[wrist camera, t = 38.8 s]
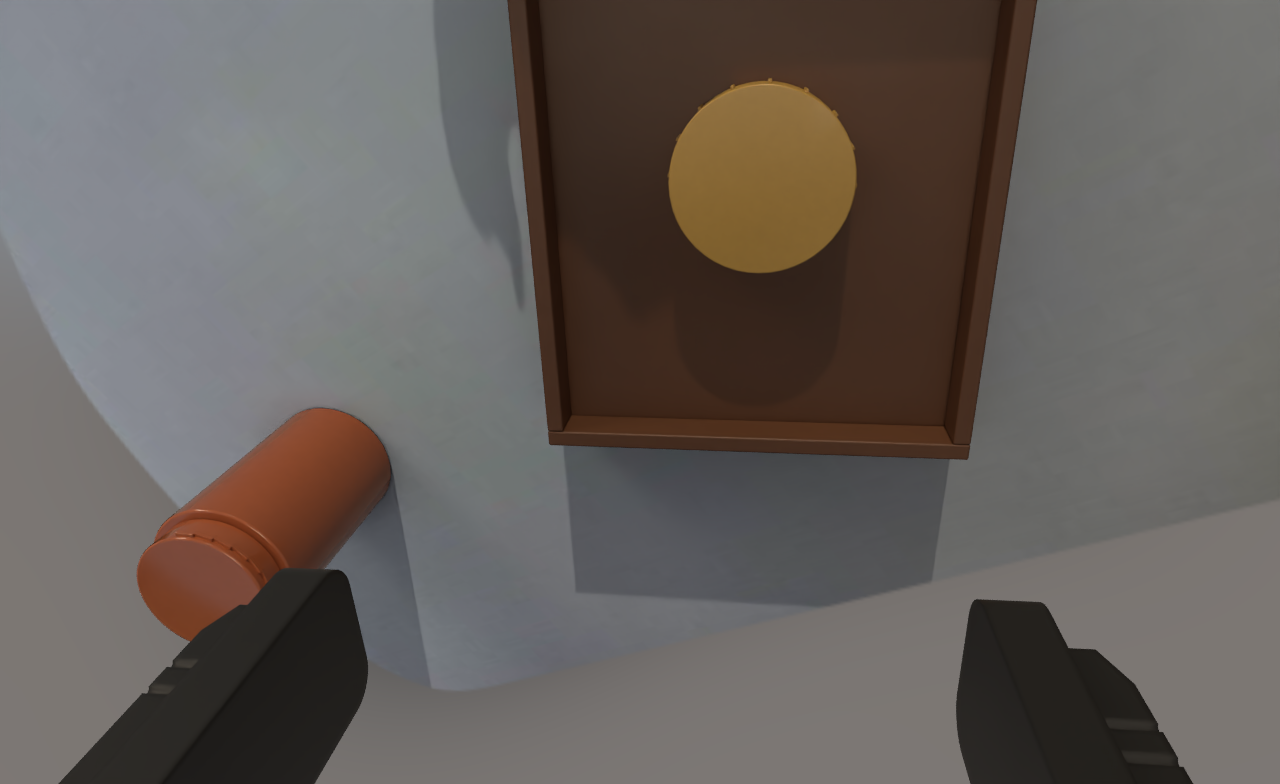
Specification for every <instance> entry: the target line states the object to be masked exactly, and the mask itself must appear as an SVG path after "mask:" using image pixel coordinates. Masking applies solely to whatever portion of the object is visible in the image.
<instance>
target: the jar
mask: <svg viewBox="0 0 1280 784" xmlns="http://www.w3.org/2000/svg"><path fill="white" fill-rule="evenodd" d="M390 478H391V469H390V462H389V458H388V455H387V453H386V450H385V448H384V447H383V445H382V443H381V442H380V440H379V439H378V437H377V436H376V435H375V434H374V433H373V432H372V431H371V430H370V429H369V428H368V427H367V426H366V425H365V424H363V423H362V422H361V421H359V420H358V419H356V418H354V417H353V416H350V415H348V414H346V413H343V412H340V411H337V410H333V409H325V408H315V409H309V410H305V411H302V412H299V413H297V414H295V415H294V416H292V417H291V418H290V419H288V420H287V421H286V422H285V423H284V424H282V425H281V426H280V427H279V428H278V429H276V430H275V431H274V432H273V433H272V434H270V435H269V436H268V437H267V438H265V439H264V440H263V441H262V442H261V443H259V444H258V445H257V446H256V447H255V448H253V449H252V450H251V451H250V452H248V453H247V454H246V455H245V456H244V457H242V458H241V459H240V460H239V461H238V462H236V463H235V464H234V465H233V466H232V467H230V468H229V469H228V470H227V471H225V472H224V473H223V474H222V475H221V476H219V477H218V478H217V479H216V480H215V481H213V482H212V483H211V484H210V485H208V486H207V487H206V488H205V489H204V490H202V491H201V492H200V493H199V494H198V495H196V496H195V497H194V498H193V499H192V500H190V501H189V502H188V503H187V504H185V505H184V506H183V507H182V508H181V509H179V510H178V511H177V512H176V513H175V514H173V515H172V516H171V517H170V518H168V519H167V520H166V521H165V522H164V523H163V524H162V526H161V527H160V529H159V530H158V532H157V535H156V537H155V540H154V543H153V544H152V545H151V546H149V547H148V548H147V549H146V550H145V552H144V553H143V555H142V556H141V558H140V561H139V563H138V567H137V583H138V587H139V591H140V593H141V596H142V598H143V600H144V602H145V603H146V605H147V607H148V608H149V609H150V610H151V612H152V613H153V614H154V616H155V617H156V618H157V619H158V620H159V621H160V622H161V623H162V624H163V625H165V626H166V627H167V628H168V629H170V630H171V631H172V632H174V633H175V634H177V635H179V636H180V637H182V638H184V639H186V640H188V641H190V642H191V641H192V639H193V638H194V637H195V636H196V635H197V634H198V633H199V632H200V631H201V630H202V629H204V628H205V627H207V626H208V625H210V624H211V623H213V622H214V621H216V620H217V619H219V618H220V617H222V616H223V615H225V614H226V613H228V612H229V611H231V610H232V609H234V608H235V607H237V606H238V605H240V604H241V605H248V604H249V603H250V601H251V600H252V599H253V598H254V597H255V596H256V595H257V594H258V592H259V591H260V590H261V589H262V588H263V587H264V586H265V585H266V583H267V582H268V581H269V580H270V579H271V578H272V577H273V575H275V574H276V573H277V572H278V571H279V570H281V569H284V568H305V569H325V568H326V567H327V565H328V564H329V563H330V562H331V560H332V559H333V558H334V557H335V556H336V554H337V553H338V552H339V551H340V549H341V548H342V547H343V546H344V544H345V543H346V542H347V541H348V540H349V538H350V537H351V536H352V535H353V533H354V532H355V531H356V530H357V528H358V527H359V526H360V525H361V524H362V522H363V521H364V520H365V519H366V517H367V516H368V515H369V514H370V512H371V511H372V510H373V509H374V508H375V506H376V505H377V504H378V503H379V501H380V500H381V499H382V498H383V496H384V495H385V493H386V491H387V489H388V487H389V483H390Z"/></svg>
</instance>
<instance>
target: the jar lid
mask: <svg viewBox="0 0 1280 784" xmlns="http://www.w3.org/2000/svg"><path fill="white" fill-rule="evenodd" d="M698 110H699V111H698V112H697V113H696V114H695V115H694V117H693V118H692V119H691V120H690V122H689V123H688V124H687V126H686V127H685V129H684V130H683V132H682V134H679V136H678V137H677V138H676V141H678V142H677V144H676V146H675V148H674V152H673V155H672V158H671V163H670V169H669V173H668V176H667V177H669V182H668V185H669V197H670V201H671V206H672V209H673V213H674V215H675V218H676V220H677V222H678V224H679V226H680V228H681V230H682V231H683V233H684V234H685V236H686V237H687V239H688V240H689V241H690V242H691V243H692V244H693V245H694V247H695V248H696V249H698V250H699V251H700V252H701V253H702V254H703V255H705V256H706V257H708V258H709V259H711V260H712V261H714V262H716V263H718V264H720V265H722V266H724V267H727V268H730V269H733V270H736V271H741V272H746V273H772V272H777V271H782V270H786V269H789V268H792V267H795V266H797V265H799V264H801V263H803V262H805V261H807V260H808V259H810V258H812V257H813V256H815V255H816V254H817V253H819V252H820V251H821V250H822V249H824V248H825V247H826V246H827V245H828V244H829V243H830V241H831V240H832V239H833V238H834V237H835V236H836V234H837V233H838V232H839V230H840V229H841V227H842V225H843V224H844V222H845V220H846V218H847V216H848V214H849V211H850V209H851V206H852V203H853V199H854V196H855V190H856V188H857V183H856V182H857V168H856V160H855V155H854V151H853V150H855V147H854V145H853V144H852V142H851V141H850V139H849V137H848V134H847V132H846V131H845V129H844V127H843V126H842V124H841V122H840V121H839V120H838V118H837V116H838V114H837V112H836V111H835V110H833V111H831V110H830V108H829V107H828V106H827V105H825V104H824V103H823V102H822V101H821V100H820V99H819V98H817V97H816V96H814V95H813V94H811V93H810V92H809V89H808V88H806V87H804V89H802V88H800V87H797V86H794V85H791V84H788V83H782V82H777V81H772V78H768V81H757V82H749V83H745V84H741V85H738V86H735V84H732V85H731V86H730V89H728V90H726V91H724V92H722V93H720V94H718V95H717V96H715V97H714V98H713V99H711V100H710V101H708V102H707V103H706V104H705V105H703V104H701V105H700V106H699V107H698Z"/></svg>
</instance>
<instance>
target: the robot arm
mask: <svg viewBox="0 0 1280 784" xmlns="http://www.w3.org/2000/svg"><path fill="white" fill-rule="evenodd" d="M367 676H368V662H367V656H366V652H365V647H364V643H363V639H362V634H361V630H360V626H359V622H358V617H357V613H356V609H355V605H354V600H353V596H352V592H351V587H350V584H349V581H348V578H347V576H346V575H345V574H344V573H343V572H342V571H340V570H328V569H305V568H284V569H281V570H279V571H278V572H277V573H276V574H275V575H273V577H272V578H271V579H270V580H269V581H268V582H267V583H266V585H265V586H264V587H263V588H262V589H261V590H260V591H259V592H258V594H257V595H256V596H255V597H254V598H253V599H252V600H251V601H250V603H249V604H248V605H241V604H240V605H238V606H237V607H235V608H234V609H232V610H231V611H229V612H228V613H226V614H225V615H223V616H222V617H220V618H219V619H217V620H216V621H214V622H213V623H211V624H210V625H208V626H207V627H205V628H204V629H202V630H201V631H200V632H199V633H198V634H197V635H196V636H195V637H194V638H193V639H192V641H191V642H190V643H189V644H188V645H187V646H186V647H185V648H184V649H183V650H182V652H180V654H179V655H178V656H177V657H176V658H175V659H174V660H173V665H172V667H166V669H165V670H164V671H163V672H162V673H161V674H160V675H159V676H158V677H157V678H156V679H155V681H153V683H152V684H151V685H150V686H149V691H148V693H147V694H143V693H142V695H140V697H139V698H138V699H137V700H136V701H135V702H134V703H133V704H132V705H131V706H130V707H129V708H128V709H127V711H126V712H125V713H124V714H123V715H122V716H121V717H120V718H119V719H118V720H117V721H116V722H115V723H114V725H113V726H112V727H111V728H110V729H109V730H108V731H107V732H106V733H105V734H104V735H103V737H102V738H101V739H100V740H99V741H98V742H97V743H96V744H95V745H94V746H93V747H92V749H91V750H90V751H89V752H88V753H87V754H86V755H85V756H84V757H83V758H82V759H81V760H80V761H79V762H78V764H76V766H75V767H74V768H73V769H72V770H71V771H70V772H69V773H68V774H67V775H66V776H65V777H64V778H63V780H62V781H61V782H60V783H59V784H314V783H315V782H316V780H317V779H318V777H319V775H320V773H321V772H322V770H323V768H324V767H325V765H326V763H327V761H328V760H329V758H330V756H331V754H332V753H333V751H334V750H335V748H336V746H337V744H338V743H339V741H340V739H341V738H342V736H343V734H344V732H345V731H346V729H347V727H348V726H349V724H350V722H351V721H352V719H353V717H354V715H355V714H356V712H357V710H358V708H359V706H360V704H361V702H362V699H363V696H364V693H365V689H366V684H367ZM956 717H957V730H958V737H959V743H960V748H961V752H962V756H963V759H964V763H965V766H966V770H967V773H968V777H969V780H970V783H971V784H1193V783H1192V781H1191V779H1190V778H1189V776H1188V774H1187V772H1186V771H1185V769H1184V767H1179V764H1178V757H1177V756H1176V754H1175V752H1174V750H1173V749H1172V747H1171V745H1170V743H1169V742H1168V740H1167V738H1166V737H1165V735H1164V733H1163V732H1159V730H1158V723H1157V721H1156V720H1155V718H1154V716H1153V715H1152V713H1151V711H1150V709H1149V708H1148V706H1147V704H1146V703H1145V701H1144V699H1143V698H1142V696H1141V694H1140V692H1139V691H1138V689H1137V688H1136V686H1135V684H1134V683H1133V682H1132V681H1130V680H1129V679H1128V678H1127V677H1126V676H1125V675H1124V674H1122V673H1121V672H1120V671H1119V670H1118V669H1117V668H1116V667H1115V666H1113V665H1112V664H1111V663H1110V662H1109V661H1108V660H1107V659H1106V658H1104V657H1103V656H1102V655H1101V654H1100V653H1099V652H1098V651H1096V650H1093V649H1073V648H1068V646H1067V644H1066V642H1065V641H1064V639H1063V637H1062V635H1061V633H1060V631H1059V629H1058V627H1057V625H1056V623H1055V621H1054V619H1053V617H1052V615H1051V613H1050V612H1049V610H1048V608H1047V607H1046V606H1045V605H1044V604H1043V603H1041V602H1025V601H1002V600H978V599H976V600H974V601H973V603H972V605H971V608H970V612H969V618H968V624H967V631H966V638H965V644H964V651H963V658H962V664H961V671H960V678H959V685H958V691H957V701H956Z"/></svg>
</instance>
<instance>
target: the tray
mask: <svg viewBox="0 0 1280 784" xmlns="http://www.w3.org/2000/svg"><path fill="white" fill-rule="evenodd" d="M1036 4H1037V0H508V11H509V21H510V32H511V43H512V53H513V64H514V74H515V85H516V96H517V106H518V117H519V127H520V138H521V149H522V159H523V170H524V181H525V191H526V202H527V212H528V223H529V234H530V244H531V255H532V266H533V276H534V287H535V297H536V308H537V319H538V329H539V340H540V350H541V361H542V372H543V382H544V393H545V404H546V414H547V425H548V430H549V432H548V435H549V444H550V445H567V446H595V447H623V448H652V449H680V450H708V451H736V452H765V453H793V454H821V455H849V456H878V457H906V458H934V459H963V460H967V459H968V457H969V450H970V445H969V444H970V443H971V437H972V430H973V423H974V417H975V410H976V403H977V397H978V390H979V384H980V377H981V370H982V364H983V357H984V350H985V344H986V337H987V330H988V324H989V317H990V310H991V304H992V297H993V290H994V284H995V277H996V270H997V264H998V257H999V250H1000V244H1001V237H1002V230H1003V224H1004V217H1005V210H1006V204H1007V197H1008V191H1009V184H1010V177H1011V171H1012V164H1013V157H1014V151H1015V144H1016V137H1017V131H1018V124H1019V117H1020V111H1021V104H1022V97H1023V91H1024V84H1025V77H1026V71H1027V64H1028V57H1029V51H1030V44H1031V37H1032V31H1033V24H1034V18H1035V11H1036ZM768 78H772V81H777V82H782V83H788V84H791V85H794V86H797V87H800V88H802V89H804V87H806V88H808V89H809V92H810V93H811V94H813V95H814V96H816V97H817V98H819V99H820V100H821V101H822V102H823V103H824V104H825V105H827V106H828V107H829V108H830V110H831V111H833V110H835V111H836V112H837V114H838V116H837V118H838V120H839V121H840V122H841V124H842V126H843V127H844V129H845V131H846V132H847V134H848V137H849V139H850V141H851V142H852V144H853V145H854V147H855V150H853V151H854V155H855V160H856V168H857V182H856V183H857V188H856V190H855V196H854V199H853V203H852V206H851V209H850V211H849V214H848V216H847V218H846V220H845V222H844V224H843V225H842V227H841V229H840V230H839V232H838V233H837V234H836V236H835V237H834V238H833V239H832V240H831V241H830V243H829V244H828V245H827V246H826V247H825V248H824V249H822V250H821V251H820V252H819V253H817V254H816V255H815V256H813V257H812V258H810V259H808V260H807V261H805V262H803V263H801V264H799V265H797V266H795V267H792V268H789V269H786V270H782V271H777V272H772V273H746V272H741V271H736V270H733V269H730V268H727V267H724V266H722V265H720V264H718V263H716V262H714V261H712V260H711V259H709V258H708V257H706V256H705V255H703V254H702V253H701V252H700V251H699V250H698V249H696V248H695V247H694V245H693V244H692V243H691V242H690V241H689V240H688V239H687V237H686V236H685V234H684V233H683V231H682V230H681V228H680V226H679V224H678V222H677V220H676V218H675V215H674V213H673V209H672V206H671V201H670V197H669V185H668V182H669V177H667V176H668V173H669V169H670V163H671V158H672V155H673V152H674V148H675V146H676V144H677V142H678V141H676V138H677V137H678V136H679V134H682V132H683V130H684V129H685V127H686V126H687V124H688V123H689V122H690V120H691V119H692V118H693V117H694V115H695V114H696V113H697V112H698V111H699V110H698V107H699V106H700V105H701V104H703V105H705V104H706V103H707V102H708V101H710V100H711V99H713V98H714V97H715V96H717V95H718V94H720V93H722V92H724V91H726V90H728V89H730V86H731V85H732V84H735V86H738V85H741V84H745V83H749V82H757V81H768Z"/></svg>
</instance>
